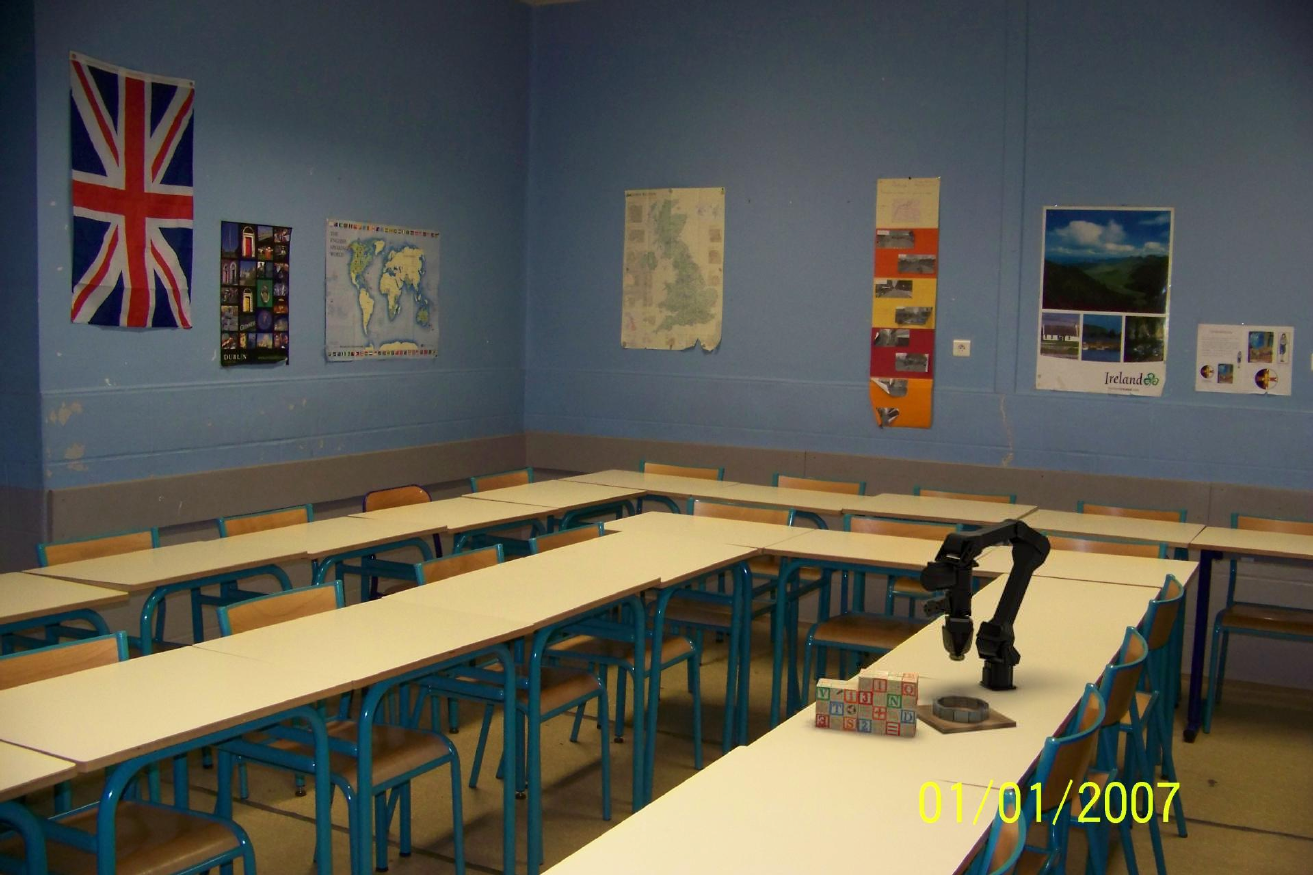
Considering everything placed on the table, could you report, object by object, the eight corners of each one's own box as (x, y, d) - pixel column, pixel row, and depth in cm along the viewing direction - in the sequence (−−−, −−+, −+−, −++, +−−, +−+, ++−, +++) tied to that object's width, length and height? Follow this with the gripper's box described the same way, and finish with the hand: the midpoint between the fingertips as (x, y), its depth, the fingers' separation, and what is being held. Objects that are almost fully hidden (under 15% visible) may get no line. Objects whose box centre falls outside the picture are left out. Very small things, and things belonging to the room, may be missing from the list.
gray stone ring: (969, 703, 270) (969, 693, 270) (999, 720, 259) (999, 709, 258) (922, 708, 266) (922, 697, 266) (950, 725, 255) (951, 713, 255)
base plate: (975, 704, 273) (976, 700, 273) (1016, 726, 258) (1016, 721, 258) (906, 710, 268) (906, 706, 268) (943, 733, 252) (943, 729, 252)
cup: (970, 656, 282) (971, 623, 281) (975, 664, 274) (976, 630, 274) (938, 655, 282) (939, 622, 282) (942, 663, 275) (944, 629, 274)
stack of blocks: (814, 727, 256) (815, 672, 255) (818, 718, 262) (820, 664, 261) (914, 738, 250) (916, 681, 249) (917, 728, 256) (919, 673, 255)
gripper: (924, 577, 288) (922, 639, 289) (924, 593, 270) (921, 660, 271) (971, 579, 285) (969, 643, 287) (974, 596, 267) (972, 663, 269)
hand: (957, 652), depth 278 cm, fingers closed on cup, 6 cm apart
